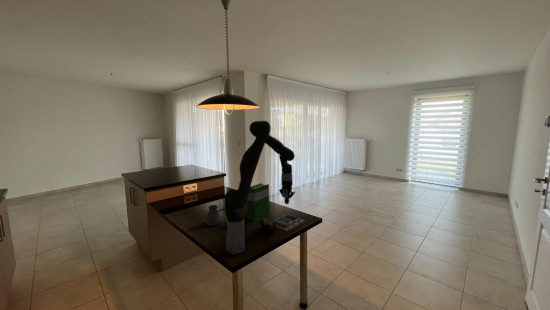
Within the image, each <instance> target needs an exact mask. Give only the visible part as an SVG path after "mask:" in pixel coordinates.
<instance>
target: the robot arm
mask: <svg viewBox="0 0 550 310" xmlns="http://www.w3.org/2000/svg"><path fill="white" fill-rule="evenodd" d="M249 132H250V134H251V135H252V136H253V137H255V139H254V141H253V143H252V144H251V145H250V146H249V147H248V148H247V149H246V150H245V151H244V153H243V155H242V157H241V160H240V163H239V174H240V176H239V177H240V182H239V185H238V188H237V189H234V188H231V189H229V190H228V191H226V194H225V196H224V208H225V210H224V211H225V215H226V219H227V221H226V223H227V225H226V226H227V232H226V234H225V245H226V246H225V247H226V250H225V251H226V252H228V253H229V254H231V255H233V256H235V254H236V255H237V254H241V253H243V252H244V251H245V250H246V239H245V237H246V234H245V233H246V231H245V229H246V228H245V227H246V225H245V213H244V212H243V210H242V209H243V208H244V207H245V206H246V205H247V199H248V195H249V191H250V187H251V186H252V182H253V179H254V175H255V172H256V170H257V167H258V164H259V161H260V159H261V155H262V153H263V152H262V151H263V149H264V147H265V145H267V146H268V147H269V148H271V150H273V152H275V153H276V154H277V155H278V156H279V161H280V166H281V177H280V178H281V180H280V181H281V188H280V189H279V190H278V191H279V193H280V195H281V196H282V198H284V203H285V205H289V203H290V199H291V198H293V197H294V195H295V193H296V191H294V190H293V166H292V164H290V163H289V162H291V161H293V160H295V157H296V156H295V152H294V151H293V150H292V149H290V148H289V147H287V146H285V144H284V143H282V142H281V141H280V140H279V139H278V138H276V137H274V136H272V135H271V134H270V133H271V124H270V122H269V121H267V120H255V121H252V122H251V123H250V125H249Z"/></svg>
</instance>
